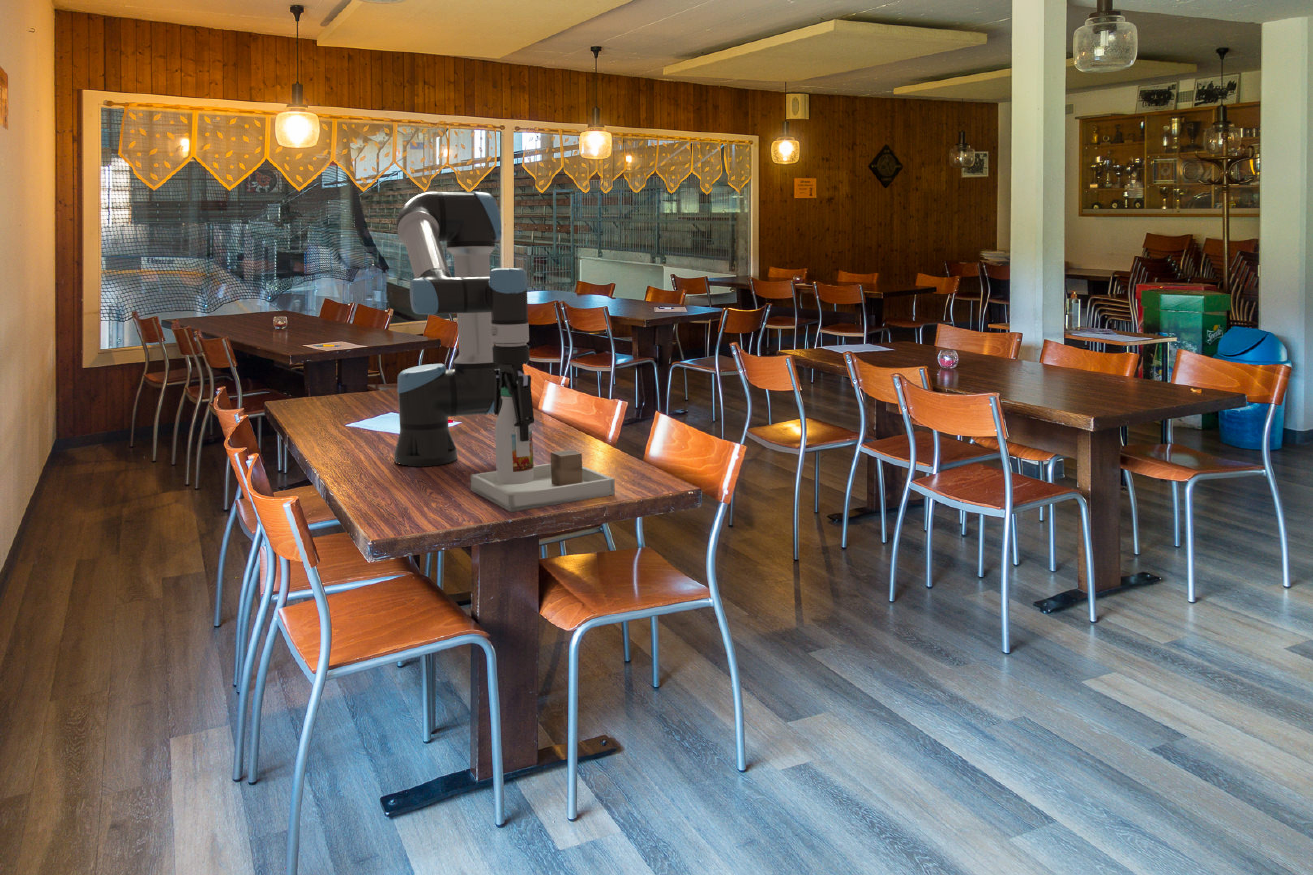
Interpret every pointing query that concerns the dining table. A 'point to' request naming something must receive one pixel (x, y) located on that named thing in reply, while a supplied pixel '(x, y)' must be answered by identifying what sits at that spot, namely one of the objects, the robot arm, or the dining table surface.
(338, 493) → the dining table surface
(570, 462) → the walnut block
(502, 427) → the milk bottle
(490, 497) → the tray
